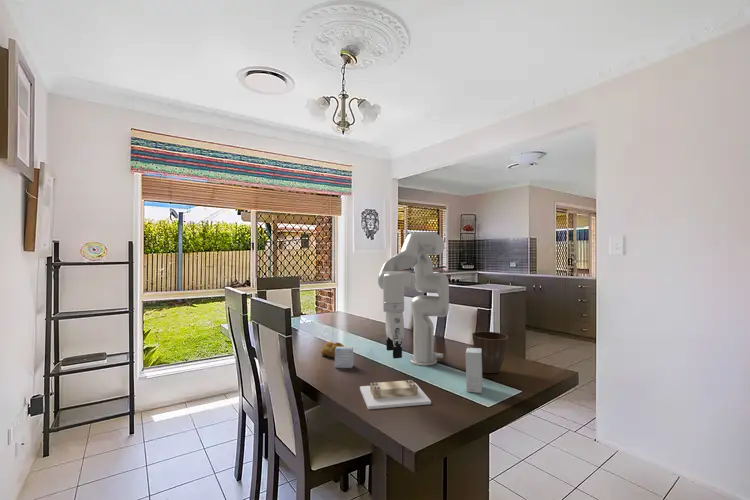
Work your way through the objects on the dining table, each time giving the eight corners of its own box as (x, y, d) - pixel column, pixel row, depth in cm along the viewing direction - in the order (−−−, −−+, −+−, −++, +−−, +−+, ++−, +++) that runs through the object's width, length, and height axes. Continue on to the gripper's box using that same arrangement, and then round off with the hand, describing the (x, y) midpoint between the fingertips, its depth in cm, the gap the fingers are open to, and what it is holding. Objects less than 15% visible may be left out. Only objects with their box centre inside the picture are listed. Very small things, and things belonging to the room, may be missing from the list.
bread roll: (317, 356, 179) (317, 340, 179) (328, 352, 187) (328, 336, 187) (338, 360, 173) (338, 343, 173) (349, 355, 181) (349, 339, 181)
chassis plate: (415, 385, 140) (415, 373, 140) (431, 404, 123) (431, 390, 123) (359, 389, 136) (359, 377, 136) (368, 409, 118) (368, 395, 118)
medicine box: (353, 365, 165) (353, 346, 165) (351, 368, 160) (351, 349, 160) (336, 364, 165) (336, 346, 166) (334, 368, 161) (334, 348, 161)
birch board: (412, 388, 134) (411, 380, 134) (417, 395, 127) (417, 386, 127) (370, 391, 131) (370, 383, 131) (373, 398, 124) (373, 390, 124)
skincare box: (482, 393, 132) (482, 353, 132) (465, 391, 133) (465, 352, 133) (482, 385, 140) (482, 347, 140) (466, 384, 141) (466, 346, 141)
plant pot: (490, 364, 166) (490, 330, 166) (515, 374, 153) (515, 336, 153) (465, 369, 160) (465, 333, 160) (489, 379, 146) (489, 340, 146)
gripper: (410, 310, 122) (410, 360, 122) (397, 303, 139) (397, 346, 139) (389, 311, 120) (389, 362, 121) (378, 303, 137) (379, 348, 137)
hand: (394, 353), depth 130 cm, fingers open, 9 cm apart
